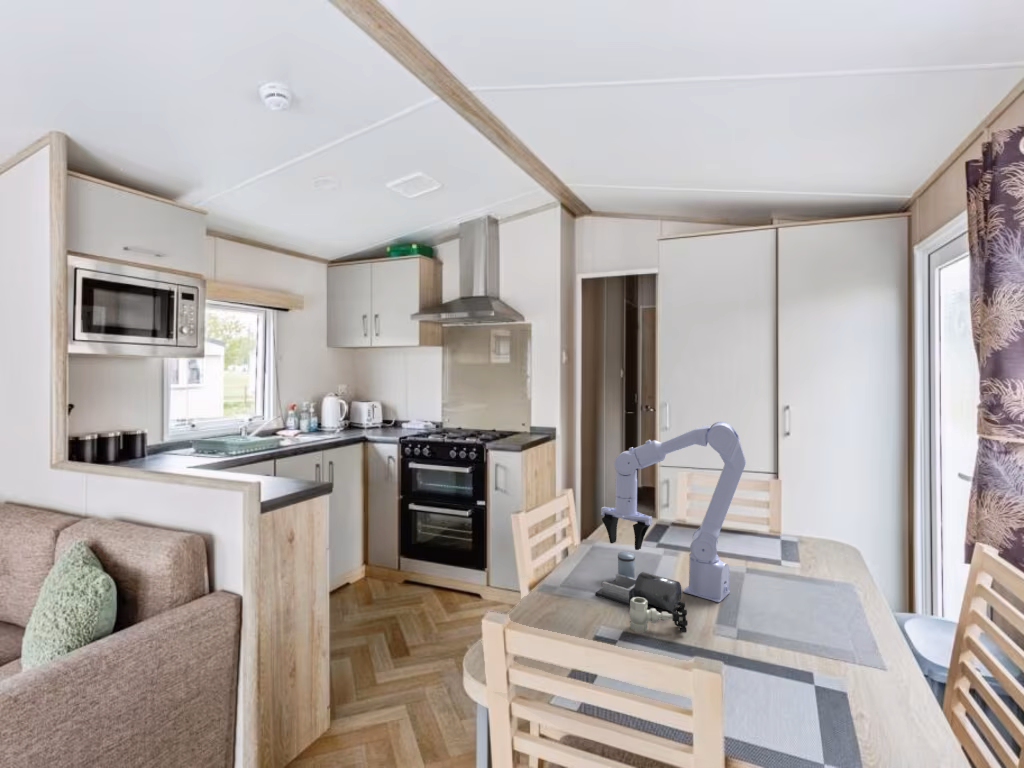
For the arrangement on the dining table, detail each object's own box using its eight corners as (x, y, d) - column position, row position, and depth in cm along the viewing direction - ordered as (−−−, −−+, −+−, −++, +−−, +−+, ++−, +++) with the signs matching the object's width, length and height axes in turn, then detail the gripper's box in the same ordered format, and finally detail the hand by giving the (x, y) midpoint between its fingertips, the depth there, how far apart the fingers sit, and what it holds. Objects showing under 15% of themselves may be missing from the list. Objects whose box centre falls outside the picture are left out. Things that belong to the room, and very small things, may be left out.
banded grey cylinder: (637, 579, 150) (638, 554, 149) (629, 584, 146) (629, 558, 146) (622, 575, 153) (623, 550, 152) (614, 580, 149) (614, 554, 149)
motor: (683, 603, 135) (684, 575, 134) (666, 618, 127) (666, 588, 127) (615, 583, 147) (615, 557, 147) (595, 595, 140) (595, 568, 139)
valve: (630, 636, 119) (687, 639, 118) (631, 606, 119) (687, 609, 118) (627, 621, 126) (681, 624, 125) (627, 593, 126) (681, 595, 124)
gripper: (595, 494, 150) (594, 543, 151) (643, 503, 141) (642, 556, 141) (608, 489, 155) (608, 537, 156) (656, 498, 146) (655, 549, 146)
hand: (625, 545), depth 149 cm, fingers open, 7 cm apart
